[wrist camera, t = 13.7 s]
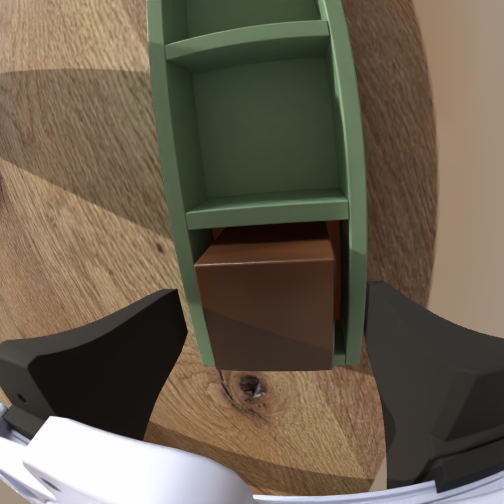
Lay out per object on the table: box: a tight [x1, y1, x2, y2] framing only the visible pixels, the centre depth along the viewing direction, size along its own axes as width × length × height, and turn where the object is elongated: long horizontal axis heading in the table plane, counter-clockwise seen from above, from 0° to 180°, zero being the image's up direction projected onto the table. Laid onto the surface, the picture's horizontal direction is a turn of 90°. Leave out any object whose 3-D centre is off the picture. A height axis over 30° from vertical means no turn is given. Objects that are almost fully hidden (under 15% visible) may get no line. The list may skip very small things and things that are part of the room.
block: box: [194, 221, 336, 371], centre depth 12 cm, size 5×5×5 cm
